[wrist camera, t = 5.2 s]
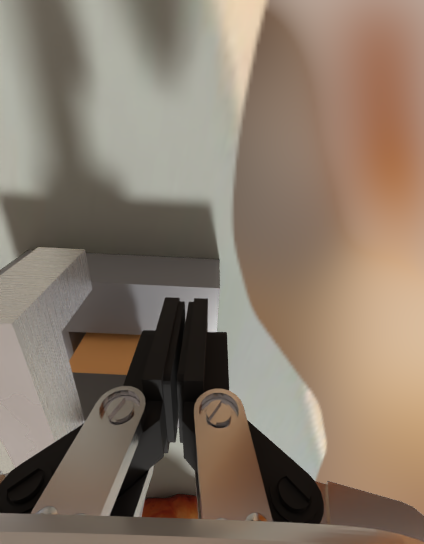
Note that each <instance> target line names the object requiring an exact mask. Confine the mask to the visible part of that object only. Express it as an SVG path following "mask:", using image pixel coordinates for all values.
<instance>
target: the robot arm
mask: <svg viewBox="0 0 424 544" xmlns="http://www.w3.org/2000/svg"><path fill="white" fill-rule="evenodd" d="M178 419H179V433H180V443H183V449H184V458H185V459H186V461H187V462H188V463H189V464H190V465H191V467H192V468H193V469H194V470H195V483H196V497H197V511H198V519H183V518H153V517H139V515H140V511H141V508H142V505H143V502H144V499H145V496H146V493H147V490H148V487H149V483H150V480H151V477H152V474H153V469H154V465H155V464H156V463H157V462H158V461H159V460H160V459H161V458H163V456H164V453H168V450H169V443H170V442H175V441H176V435H177V427H178ZM0 544H424V516H423V515H422V514H421V513H420V512H418V511H417V510H416V509H415V508H413V507H412V506H410V505H408V504H405V503H403V502H400V501H397V500H393V499H390V498H386V497H382V496H379V495H375V494H372V493H369V492H365V491H361V490H358V489H354V488H351V487H347V486H344V485H340V484H337V483H333V482H330V481H327V484H323V483H320V482H317V481H314V480H313V479H312V477H311V476H310V475H309V474H308V473H307V472H306V471H304V470H303V469H302V468H301V467H300V466H299V465H298V464H297V463H295V462H294V461H293V460H292V459H291V458H290V457H289V456H287V455H286V454H285V453H284V452H283V451H282V450H281V449H279V448H278V447H277V446H276V445H275V444H274V443H273V442H272V441H270V440H269V439H268V438H267V437H266V436H265V435H264V434H262V433H261V432H260V431H259V430H258V429H257V428H256V427H255V426H253V425H252V424H251V423H250V422H249V421H248V420H247V418H246V414H245V410H244V407H243V404H242V402H241V400H240V399H239V398H238V397H237V395H235V394H234V393H232V392H231V391H229V376H228V350H227V332H208V298H194V302H189V303H188V309H187V316H186V321H185V302H184V301H180V298H172V297H166V298H165V300H164V303H163V306H162V310H161V313H160V317H159V320H158V324H157V327H156V330H143V331H142V333H141V336H140V339H139V341H138V344H137V347H136V350H135V353H134V356H133V359H132V361H131V364H130V367H129V370H128V373H127V376H126V379H125V381H124V384H123V386H120V387H116V388H114V389H111V390H109V391H107V392H106V393H105V394H104V395H102V396H101V397H100V399H99V400H98V401H97V402H96V404H95V406H94V408H93V409H92V411H91V413H90V414H89V416H88V418H87V419H86V421H85V423H83V424H82V425H80V426H79V427H77V428H76V429H74V430H73V431H71V432H69V433H68V434H66V435H65V436H63V437H62V438H60V439H59V440H57V441H56V442H54V443H52V444H51V445H49V446H48V447H46V448H45V449H43V450H42V451H40V452H39V453H37V454H35V455H34V456H32V457H31V458H29V459H28V460H26V461H25V462H23V463H22V464H20V465H19V466H17V467H16V468H15V469H14V470H12V471H11V472H10V473H7V474H3V473H2V471H0Z"/></svg>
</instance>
